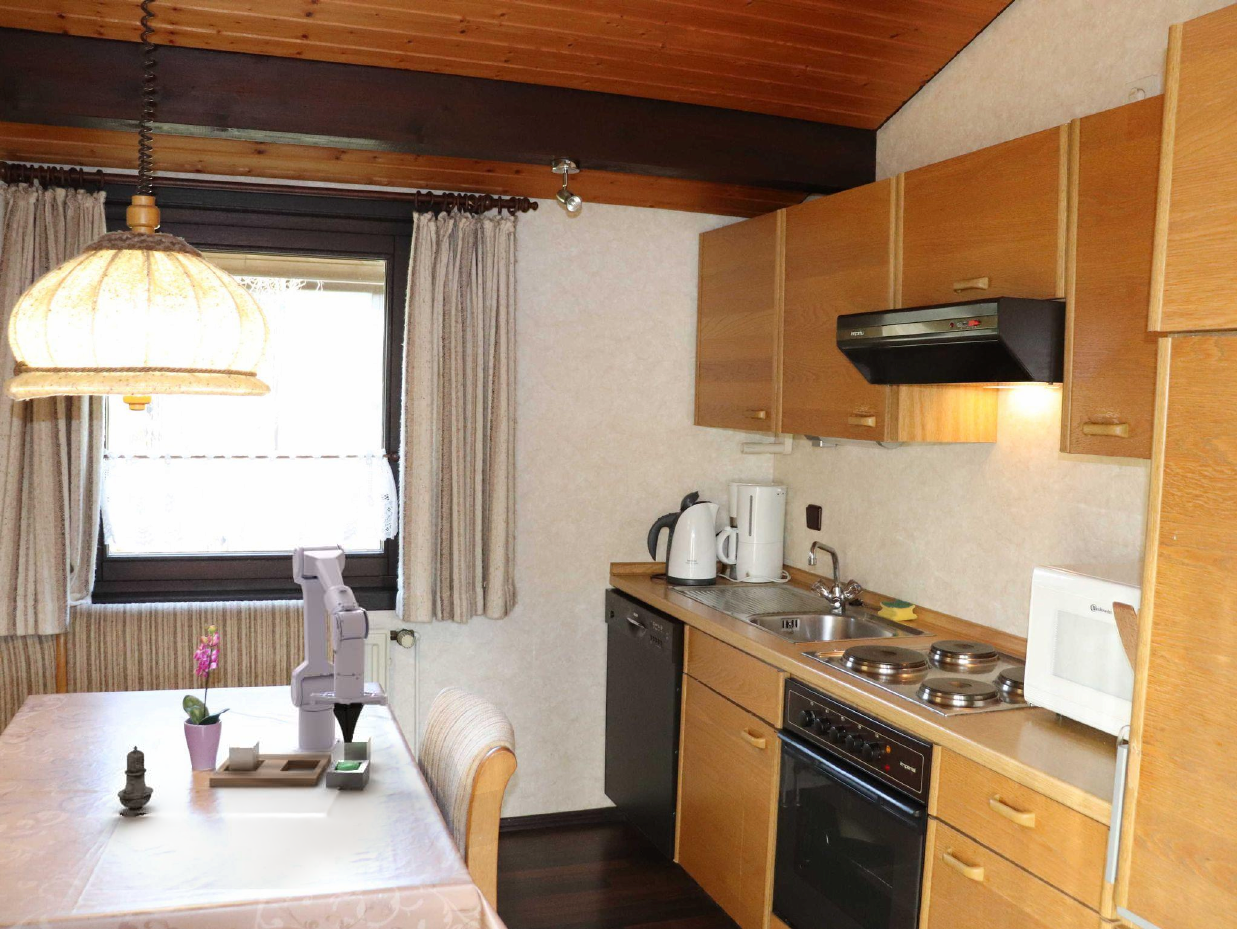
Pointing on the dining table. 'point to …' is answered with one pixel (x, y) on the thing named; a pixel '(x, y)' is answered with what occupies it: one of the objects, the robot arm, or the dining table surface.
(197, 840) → the dining table surface
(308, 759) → the wooden socket board
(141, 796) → the salt shaker
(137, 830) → the dining table surface
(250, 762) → the block
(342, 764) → the button
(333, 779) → the button box
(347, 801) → the dining table surface
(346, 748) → the block
